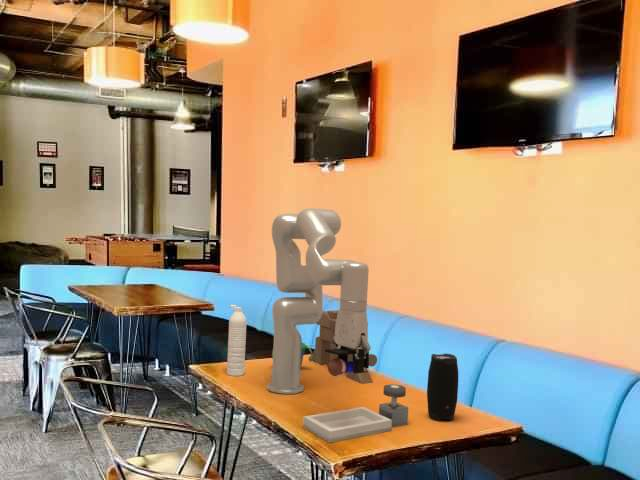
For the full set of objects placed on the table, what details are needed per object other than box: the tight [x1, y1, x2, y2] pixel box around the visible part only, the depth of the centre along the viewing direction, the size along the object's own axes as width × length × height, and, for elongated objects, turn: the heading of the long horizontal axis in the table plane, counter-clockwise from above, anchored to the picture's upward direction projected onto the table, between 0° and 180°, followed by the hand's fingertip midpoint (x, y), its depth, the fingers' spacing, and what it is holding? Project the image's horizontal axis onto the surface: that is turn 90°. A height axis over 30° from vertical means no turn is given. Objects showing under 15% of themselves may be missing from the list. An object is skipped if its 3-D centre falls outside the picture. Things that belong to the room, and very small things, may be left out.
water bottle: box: [226, 304, 247, 377], centre depth 223 cm, size 9×6×25 cm
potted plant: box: [271, 342, 313, 370], centre depth 233 cm, size 16×10×10 cm
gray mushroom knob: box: [382, 383, 407, 408], centre depth 176 cm, size 6×6×7 cm
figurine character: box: [325, 348, 378, 377], centre depth 168 cm, size 7×8×15 cm
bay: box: [302, 406, 393, 444], centre depth 168 cm, size 13×21×3 cm, turn 123°
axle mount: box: [378, 401, 409, 428], centre depth 176 cm, size 6×6×5 cm
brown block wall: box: [308, 309, 374, 385], centre depth 235 cm, size 40×9×23 cm, turn 32°
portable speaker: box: [426, 353, 459, 422], centre depth 182 cm, size 8×9×19 cm
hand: (350, 369), depth 168 cm, fingers closed on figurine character, 6 cm apart
